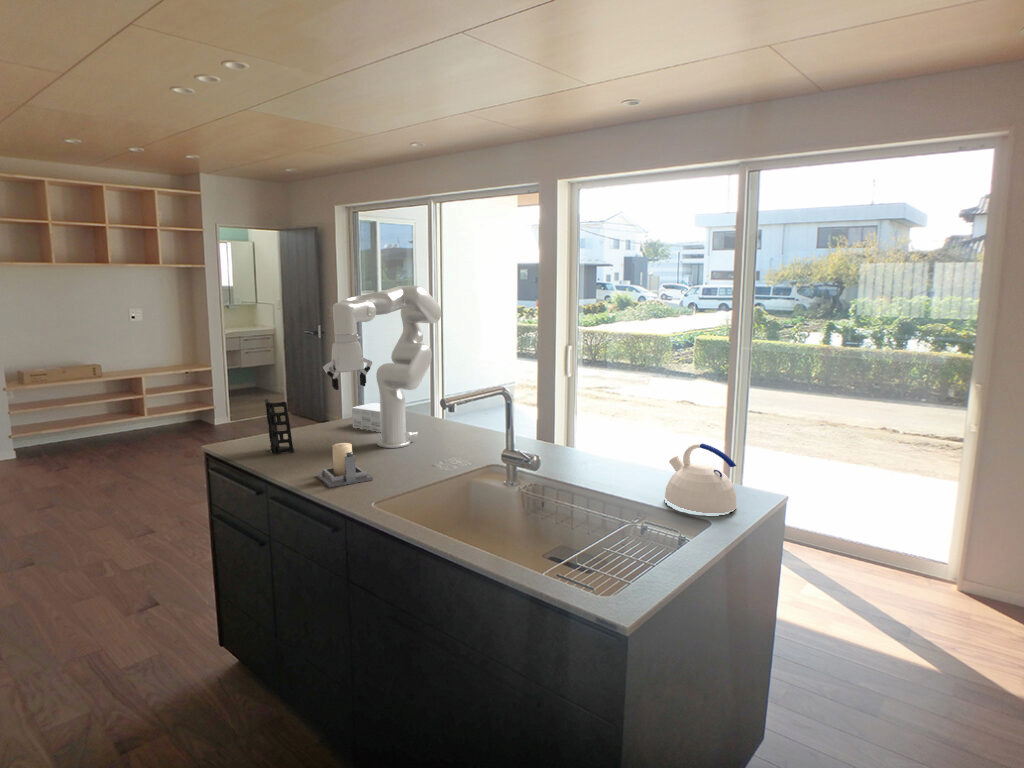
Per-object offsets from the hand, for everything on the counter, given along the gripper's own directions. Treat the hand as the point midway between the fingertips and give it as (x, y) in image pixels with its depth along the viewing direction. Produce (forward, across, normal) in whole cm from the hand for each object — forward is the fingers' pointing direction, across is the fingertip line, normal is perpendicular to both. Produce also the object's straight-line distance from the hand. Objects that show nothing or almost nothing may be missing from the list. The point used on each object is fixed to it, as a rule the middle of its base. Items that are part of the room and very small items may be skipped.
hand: (349, 387), depth 223 cm
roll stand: (+26, +10, +19) cm, 33 cm away
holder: (+26, +20, -25) cm, 41 cm away
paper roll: (+24, +11, +18) cm, 33 cm away
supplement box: (+29, -26, -42) cm, 57 cm away
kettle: (+27, -66, +98) cm, 122 cm away
